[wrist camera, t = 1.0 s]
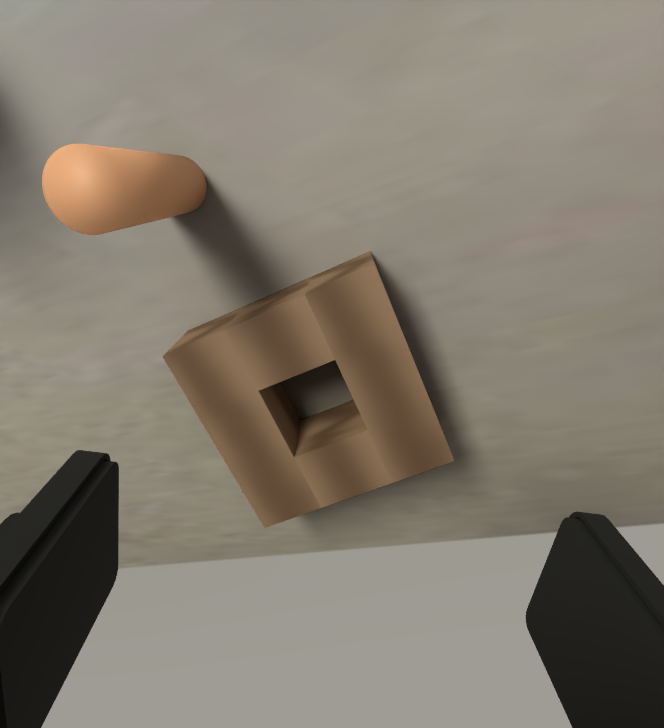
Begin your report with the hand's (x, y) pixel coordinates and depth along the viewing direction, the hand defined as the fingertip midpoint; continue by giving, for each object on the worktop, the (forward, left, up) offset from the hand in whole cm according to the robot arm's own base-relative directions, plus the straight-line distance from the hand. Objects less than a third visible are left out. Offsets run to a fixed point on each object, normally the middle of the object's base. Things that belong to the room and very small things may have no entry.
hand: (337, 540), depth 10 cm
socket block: (+5, +7, -30) cm, 31 cm away
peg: (+8, -11, -30) cm, 33 cm away
